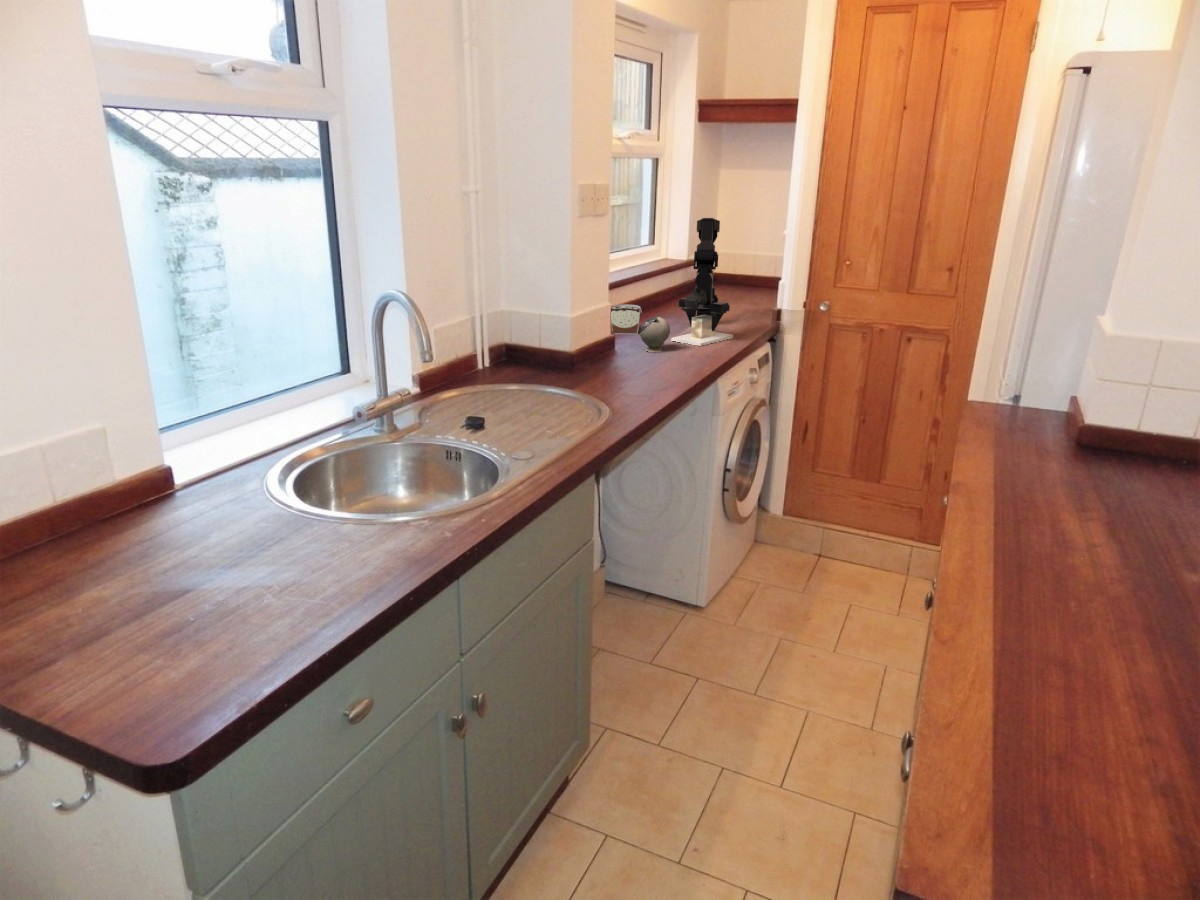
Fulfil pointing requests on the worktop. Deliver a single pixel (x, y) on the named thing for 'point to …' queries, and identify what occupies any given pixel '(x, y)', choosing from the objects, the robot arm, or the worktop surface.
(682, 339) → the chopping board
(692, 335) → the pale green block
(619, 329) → the food container
